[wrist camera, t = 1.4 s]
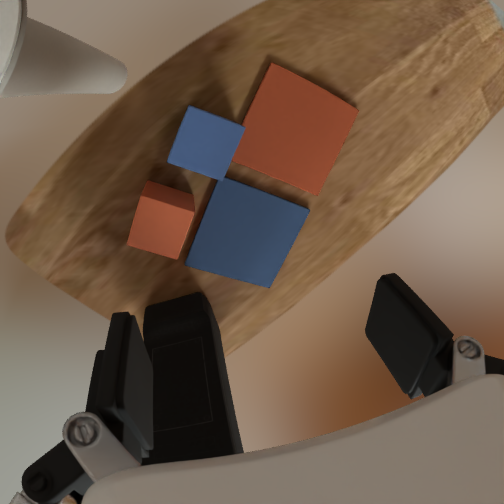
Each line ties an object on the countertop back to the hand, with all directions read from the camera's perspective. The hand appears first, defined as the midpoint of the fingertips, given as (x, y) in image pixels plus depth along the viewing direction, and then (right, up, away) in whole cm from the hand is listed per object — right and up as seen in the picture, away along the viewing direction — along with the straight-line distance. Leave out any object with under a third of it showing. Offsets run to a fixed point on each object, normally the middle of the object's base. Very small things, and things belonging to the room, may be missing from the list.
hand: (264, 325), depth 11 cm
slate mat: (-1, +4, +17) cm, 18 cm away
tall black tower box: (-8, -5, +21) cm, 23 cm away
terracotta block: (-8, +6, +15) cm, 18 cm away
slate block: (-4, +12, +12) cm, 18 cm away
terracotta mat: (+3, +13, +14) cm, 19 cm away
